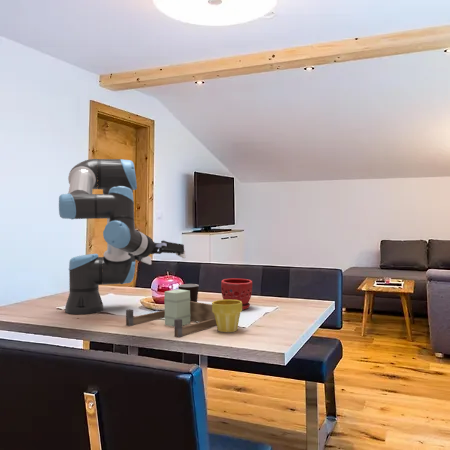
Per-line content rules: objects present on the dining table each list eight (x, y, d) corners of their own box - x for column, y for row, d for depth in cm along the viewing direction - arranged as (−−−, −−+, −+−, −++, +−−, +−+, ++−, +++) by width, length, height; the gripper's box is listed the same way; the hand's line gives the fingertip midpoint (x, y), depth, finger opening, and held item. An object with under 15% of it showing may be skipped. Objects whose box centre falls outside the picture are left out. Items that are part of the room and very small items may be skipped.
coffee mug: (196, 311, 188) (195, 287, 188) (175, 310, 190) (175, 286, 190) (203, 306, 199) (202, 283, 199) (183, 305, 201) (183, 282, 201)
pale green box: (164, 324, 166) (164, 291, 166) (178, 321, 171) (178, 289, 171) (176, 327, 162) (176, 293, 162) (190, 323, 167) (190, 290, 167)
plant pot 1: (216, 310, 190) (216, 281, 190) (228, 304, 202) (228, 277, 202) (246, 312, 185) (246, 283, 185) (256, 306, 197) (256, 278, 197)
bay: (126, 325, 165) (125, 306, 165) (168, 315, 181) (168, 297, 181) (178, 337, 148) (178, 315, 148) (219, 325, 164) (219, 305, 164)
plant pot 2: (211, 327, 162) (211, 299, 162) (240, 326, 163) (240, 298, 162) (213, 334, 151) (212, 305, 151) (244, 333, 152) (243, 304, 152)
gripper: (105, 262, 151) (137, 273, 170) (174, 248, 144) (199, 261, 163) (104, 240, 153) (136, 253, 172) (172, 225, 146) (197, 241, 165)
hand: (167, 257), depth 168 cm, fingers open, 13 cm apart
